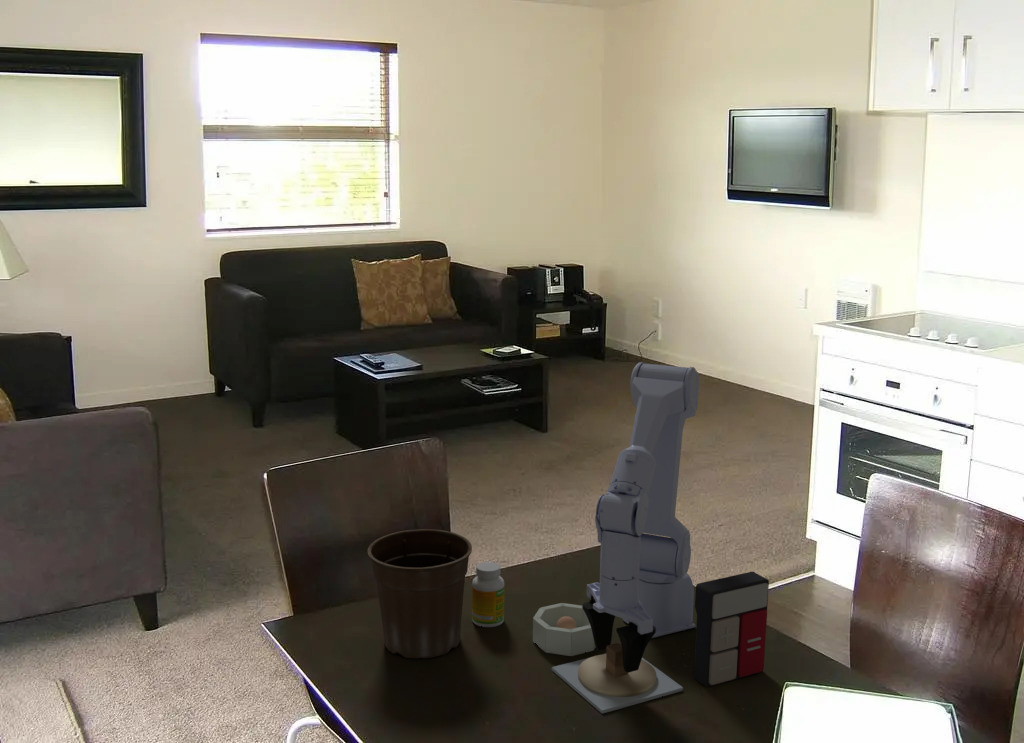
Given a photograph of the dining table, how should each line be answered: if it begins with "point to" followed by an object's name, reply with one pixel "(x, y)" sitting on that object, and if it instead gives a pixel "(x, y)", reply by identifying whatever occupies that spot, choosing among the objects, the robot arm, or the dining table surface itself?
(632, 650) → the robot arm
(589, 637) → the bowl
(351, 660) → the dining table surface
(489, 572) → the supplement bottle
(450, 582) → the plant pot
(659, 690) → the mat
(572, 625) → the ball
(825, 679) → the dining table surface
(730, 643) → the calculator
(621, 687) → the lid
